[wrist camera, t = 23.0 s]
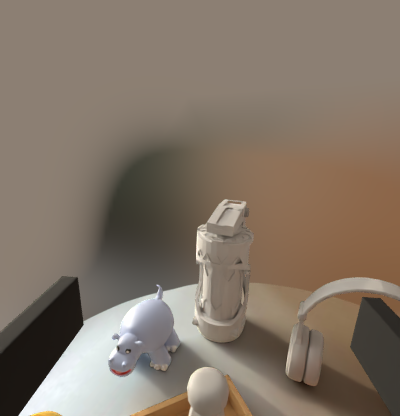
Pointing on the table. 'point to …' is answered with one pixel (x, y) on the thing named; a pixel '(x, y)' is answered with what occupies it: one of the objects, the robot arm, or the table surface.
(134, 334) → the hippopotamus toy
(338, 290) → the headphones
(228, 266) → the lantern
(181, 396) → the pale tray
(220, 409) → the salt shaker
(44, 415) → the bread roll
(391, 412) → the robot arm
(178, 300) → the table surface
